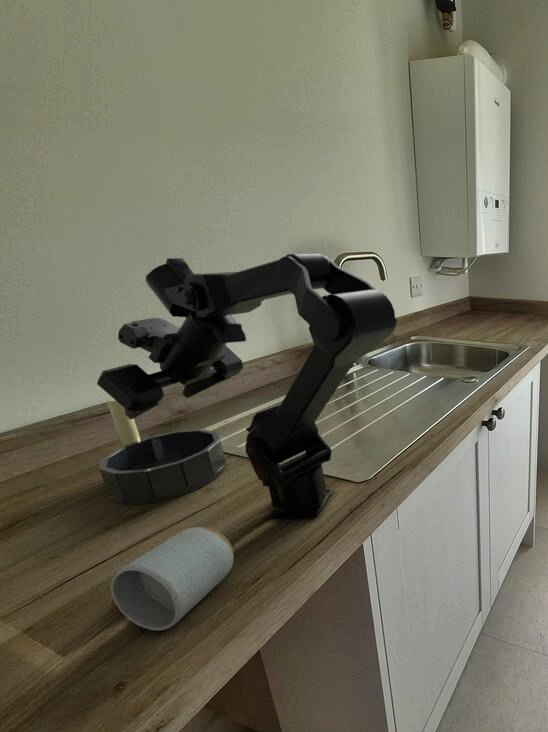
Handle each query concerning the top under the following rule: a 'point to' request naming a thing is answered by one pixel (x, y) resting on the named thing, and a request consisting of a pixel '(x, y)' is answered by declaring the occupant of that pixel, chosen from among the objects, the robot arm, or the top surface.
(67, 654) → the top surface
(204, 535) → the pale grey cup
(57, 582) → the top surface
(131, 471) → the grey faceted ring
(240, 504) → the top surface
